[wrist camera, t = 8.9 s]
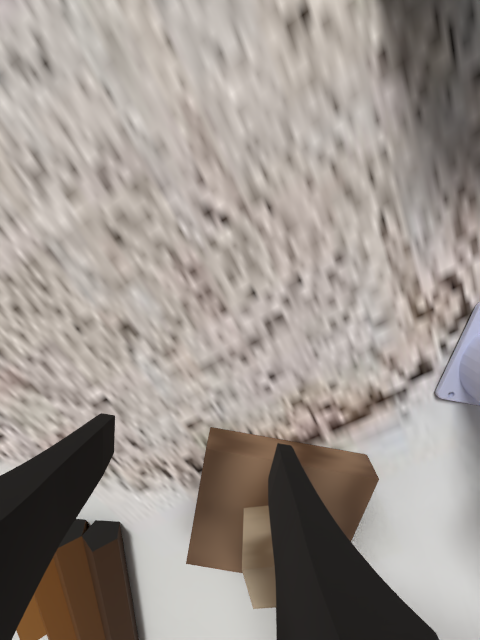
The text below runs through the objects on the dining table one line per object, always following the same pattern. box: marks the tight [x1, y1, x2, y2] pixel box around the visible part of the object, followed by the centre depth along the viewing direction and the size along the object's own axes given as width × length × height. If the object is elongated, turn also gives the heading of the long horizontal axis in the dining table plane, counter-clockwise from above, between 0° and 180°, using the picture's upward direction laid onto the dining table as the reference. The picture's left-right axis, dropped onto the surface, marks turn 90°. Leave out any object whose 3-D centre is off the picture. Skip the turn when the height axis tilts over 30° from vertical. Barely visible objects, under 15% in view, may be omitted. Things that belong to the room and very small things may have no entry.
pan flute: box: [16, 519, 139, 640], centre depth 32 cm, size 25×3×25 cm
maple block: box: [242, 506, 276, 609], centre depth 22 cm, size 4×4×4 cm
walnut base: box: [186, 427, 379, 573], centre depth 25 cm, size 14×14×2 cm
